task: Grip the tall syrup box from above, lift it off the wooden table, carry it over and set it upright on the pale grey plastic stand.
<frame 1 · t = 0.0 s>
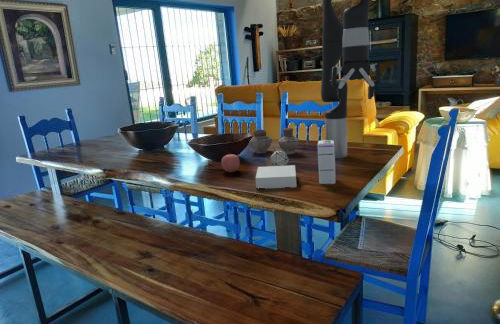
hand: (355, 99, 113), 29 cm above the table, tool pointing down, fingers open, 8 cm apart
game die: (279, 169, 151), on the table
stand: (276, 181, 135), on the table
apple: (231, 172, 152), on the table
pottery: (274, 153, 179), on the table
syrup box: (327, 181, 131), on the table
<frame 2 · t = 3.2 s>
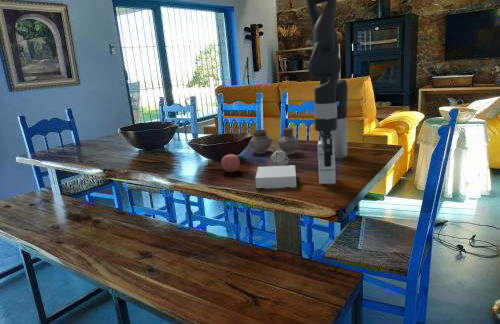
hand: (326, 163, 129), 7 cm above the table, tool pointing down, fingers closed on syrup box, 6 cm apart
syrup box: (327, 181, 131), on the table, touching gripper
everything else where it was.
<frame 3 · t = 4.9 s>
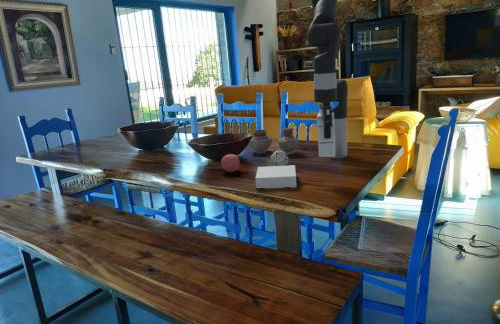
hand: (326, 136, 127), 16 cm above the table, tool pointing down, fingers closed on syrup box, 6 cm apart
syrup box: (326, 155, 129), point 10 cm above the table, touching gripper
everything else where it was.
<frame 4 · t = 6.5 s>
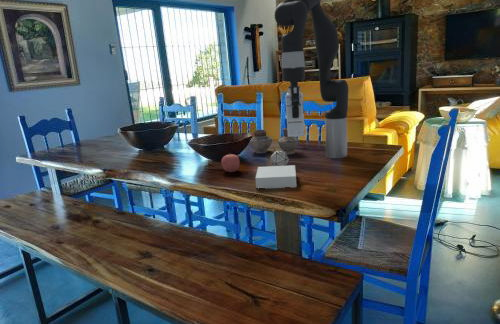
hand: (295, 116, 127), 24 cm above the table, tool pointing down, fingers closed on syrup box, 6 cm apart
syrup box: (296, 135, 129), point 17 cm above the table, touching gripper
everything else where it was.
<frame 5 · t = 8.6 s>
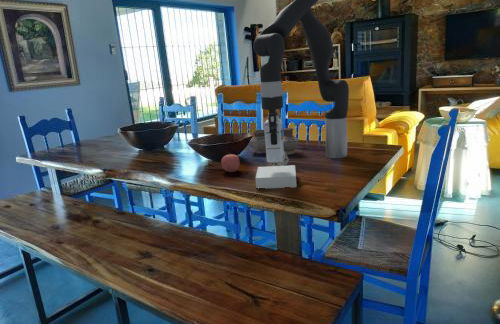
hand: (274, 142, 131), 15 cm above the table, tool pointing down, fingers closed on syrup box, 6 cm apart
syrup box: (275, 160, 133), point 8 cm above the table, touching gripper
everything else where it was.
when the fingers open (12 cm above the table, at t = 10.1 s): syrup box drops 1 cm, resting on stand.
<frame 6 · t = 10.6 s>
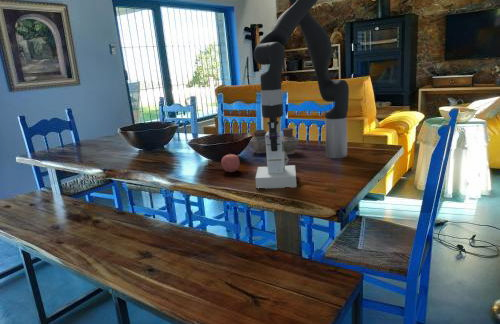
hand: (274, 148, 132), 13 cm above the table, tool pointing down, fingers open, 8 cm apart
syrup box: (276, 171, 134), point 4 cm above the table, touching stand
everything else where it was.
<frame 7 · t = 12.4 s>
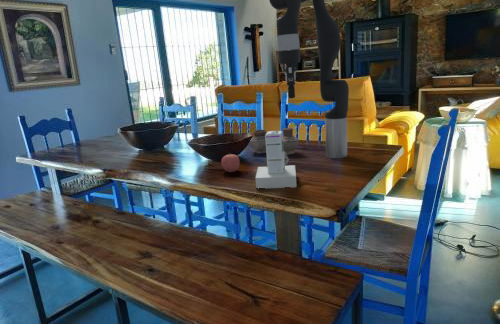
hand: (291, 96, 130), 30 cm above the table, tool pointing down, fingers open, 8 cm apart
nothing on the table moved.
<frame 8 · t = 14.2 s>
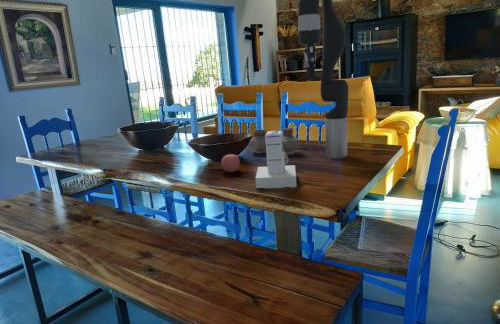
hand: (310, 77, 131), 36 cm above the table, tool pointing down, fingers open, 8 cm apart
nothing on the table moved.
at the end: syrup box inside the target area on the stand (0.1 cm from its centre), point 3.8 cm above the stand's base; syrup box tilted 0°; the gripper is holding nothing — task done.
